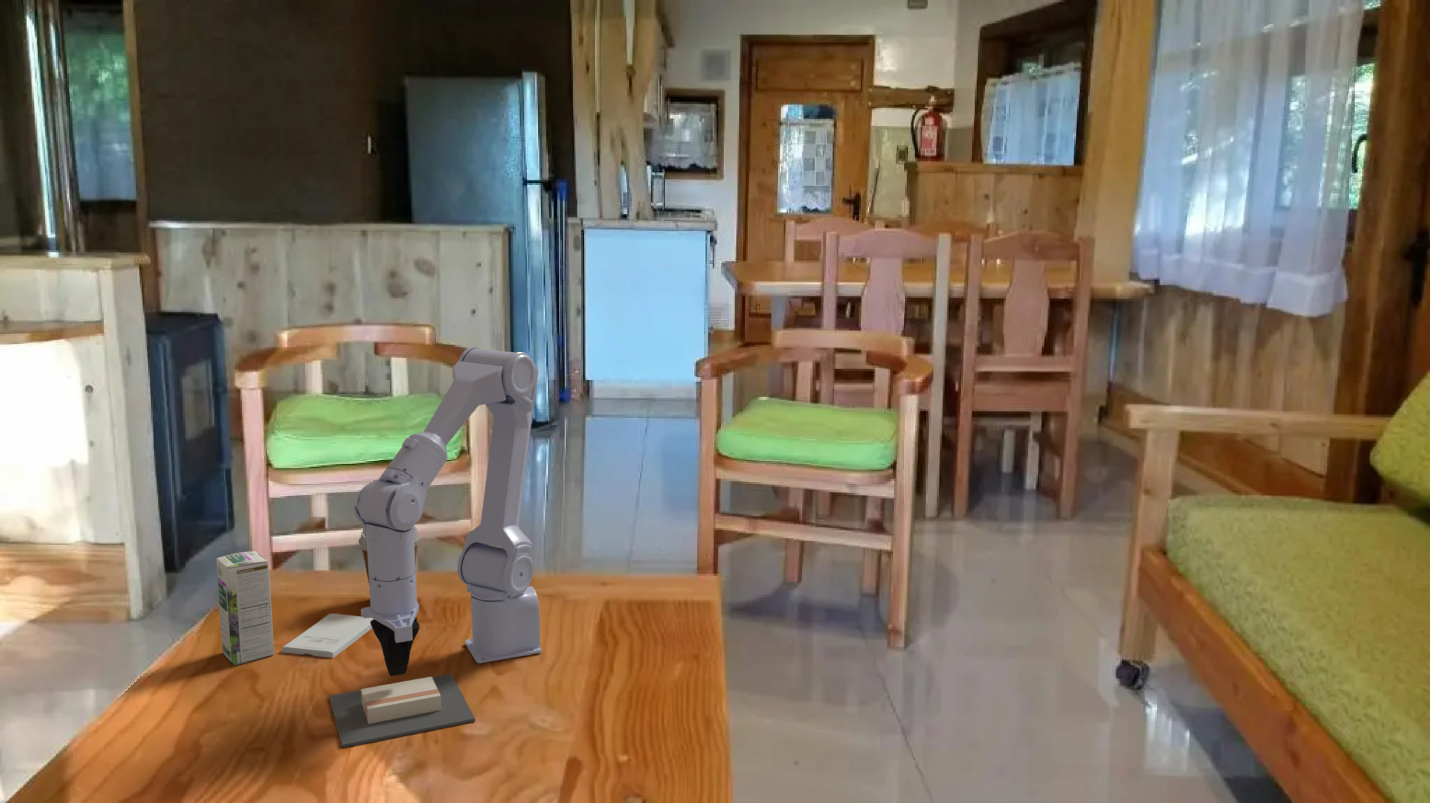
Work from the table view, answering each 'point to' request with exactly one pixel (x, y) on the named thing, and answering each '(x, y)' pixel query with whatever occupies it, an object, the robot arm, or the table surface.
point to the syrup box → (245, 607)
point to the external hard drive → (329, 636)
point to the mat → (359, 731)
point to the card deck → (400, 699)
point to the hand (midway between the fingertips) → (397, 673)
